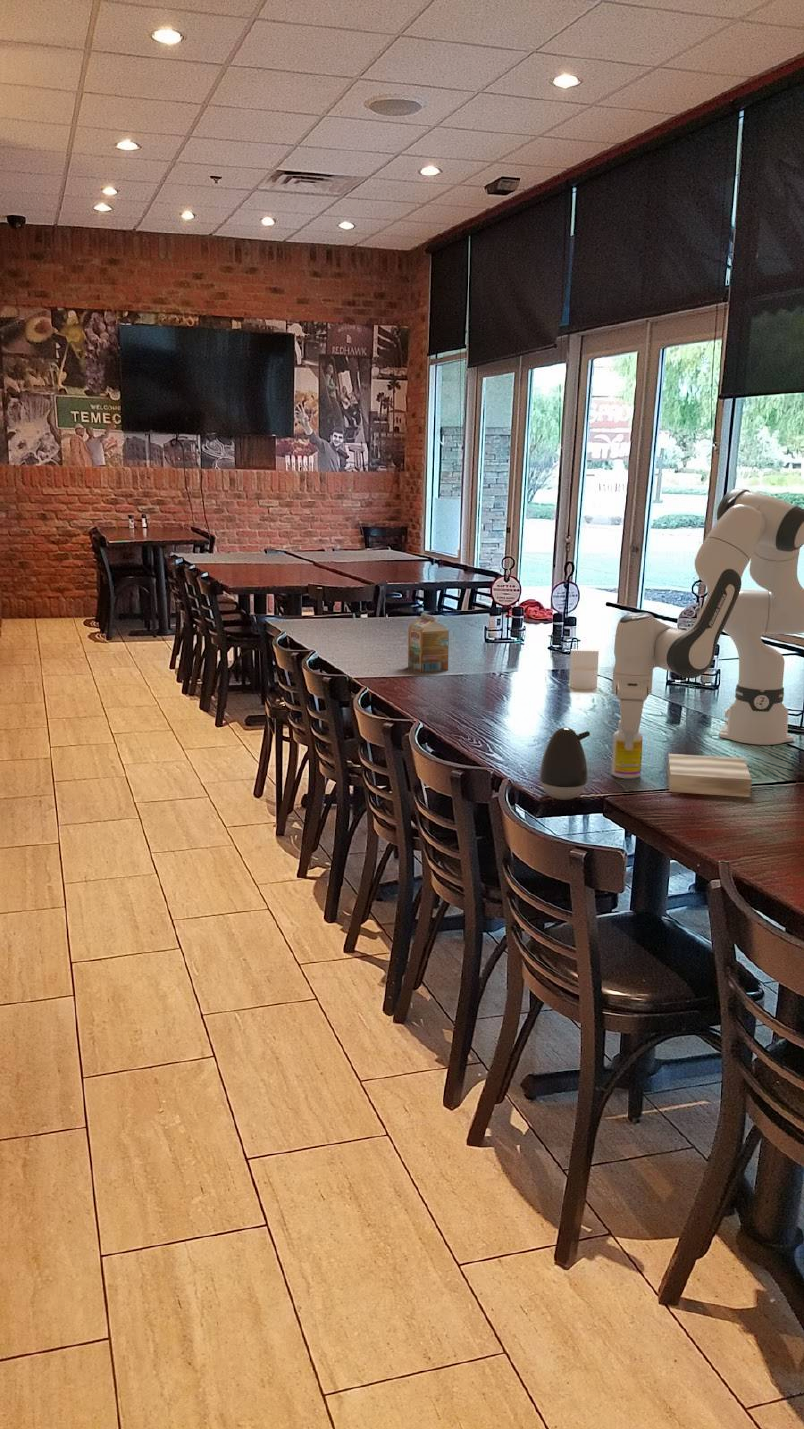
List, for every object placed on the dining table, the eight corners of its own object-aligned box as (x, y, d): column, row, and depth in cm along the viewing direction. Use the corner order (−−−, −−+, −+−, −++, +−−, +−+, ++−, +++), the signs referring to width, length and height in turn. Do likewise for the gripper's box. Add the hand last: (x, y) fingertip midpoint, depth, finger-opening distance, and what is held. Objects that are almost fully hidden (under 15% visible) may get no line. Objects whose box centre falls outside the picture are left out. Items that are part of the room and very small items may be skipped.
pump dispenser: (592, 803, 230) (596, 733, 226) (544, 803, 229) (547, 733, 226) (581, 789, 240) (584, 722, 236) (534, 789, 239) (537, 722, 236)
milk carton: (408, 667, 386) (408, 613, 382) (434, 665, 390) (435, 612, 386) (421, 672, 376) (421, 617, 372) (448, 670, 381) (449, 616, 377)
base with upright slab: (595, 684, 358) (597, 648, 355) (598, 689, 349) (599, 652, 347) (568, 683, 359) (569, 647, 356) (569, 688, 350) (571, 652, 347)
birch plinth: (667, 770, 256) (668, 753, 255) (742, 774, 252) (743, 758, 251) (669, 791, 238) (670, 774, 238) (750, 797, 235) (751, 779, 234)
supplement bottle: (644, 779, 248) (648, 724, 245) (617, 780, 247) (620, 725, 244) (634, 771, 255) (637, 717, 252) (607, 772, 254) (609, 718, 251)
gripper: (618, 676, 256) (615, 733, 259) (617, 692, 237) (614, 754, 240) (645, 677, 255) (642, 735, 258) (647, 694, 236) (643, 755, 238)
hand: (628, 744), depth 249 cm, fingers open, 8 cm apart
